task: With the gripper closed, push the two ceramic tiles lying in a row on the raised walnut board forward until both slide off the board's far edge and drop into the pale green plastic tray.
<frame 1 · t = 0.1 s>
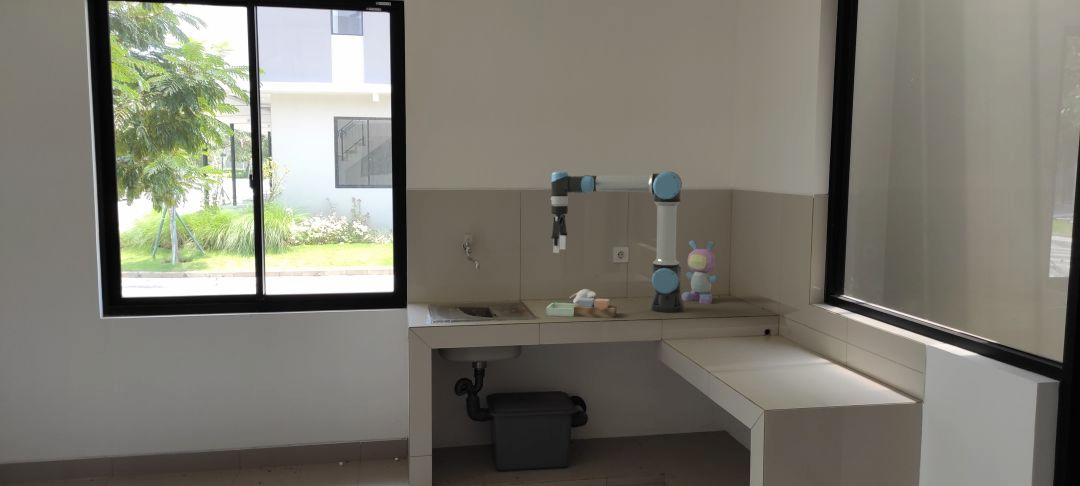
hand: (559, 251, 364), 28 cm above the counter, tool pointing down, fingers open, 13 cm apart
toy 2: (700, 301, 392), on the counter
tile front: (586, 305, 357), point 4 cm above the counter, touching board
tray: (562, 313, 360), on the counter
toy: (582, 307, 376), on the counter
tile rear: (601, 306, 356), point 4 cm above the counter, touching board
board: (595, 314, 357), on the counter
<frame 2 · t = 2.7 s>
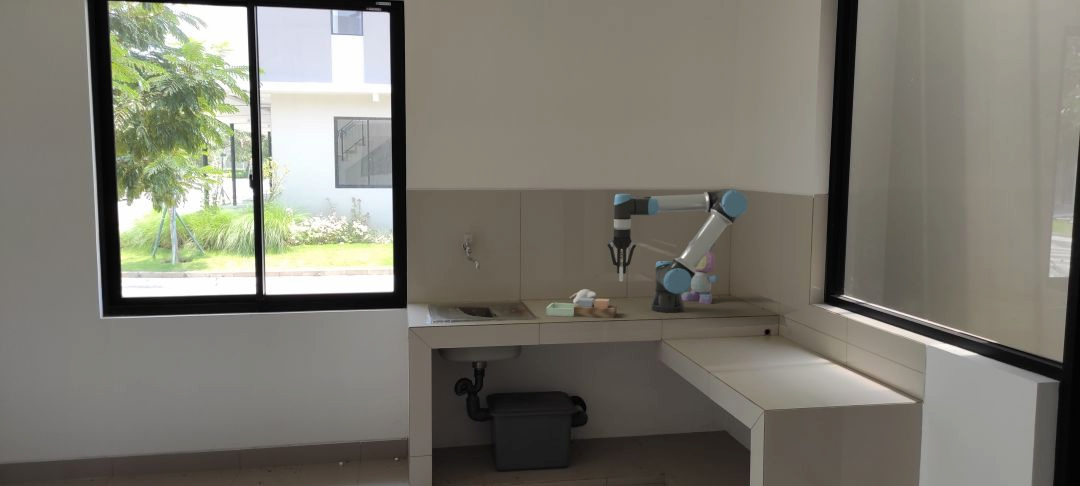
hand: (621, 280, 352), 16 cm above the counter, tool pointing down, fingers closed
nothing on the counter moved.
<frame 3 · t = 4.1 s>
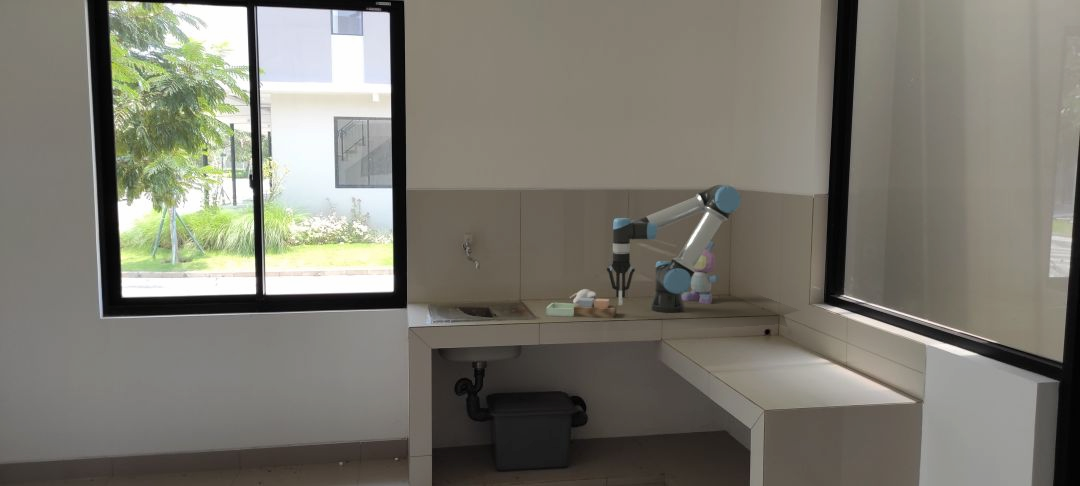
hand: (620, 304, 354), 5 cm above the counter, tool pointing down, fingers closed
nothing on the counter moved.
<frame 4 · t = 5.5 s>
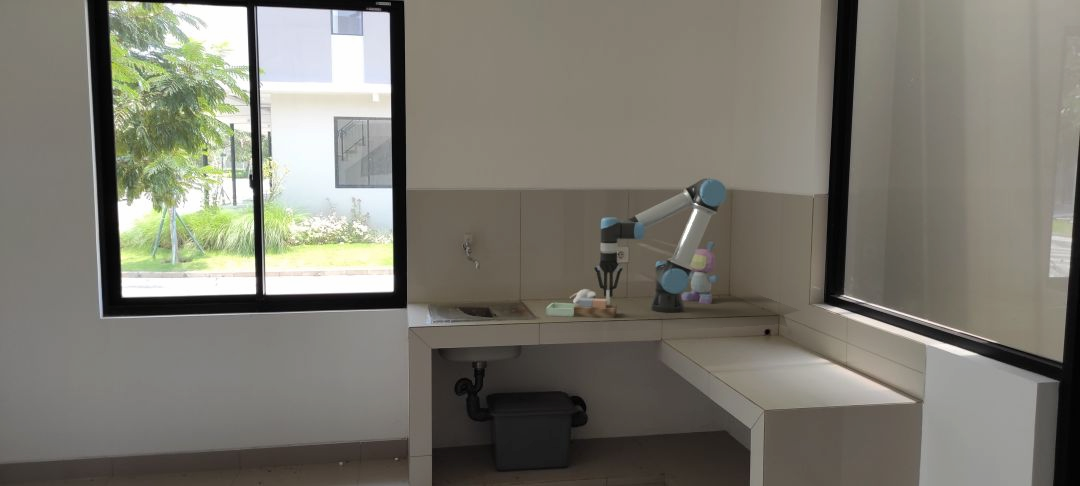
hand: (608, 303, 355), 5 cm above the counter, tool pointing down, fingers closed
tile rear: (599, 306, 356), point 4 cm above the counter, touching gripper
everything else where it was.
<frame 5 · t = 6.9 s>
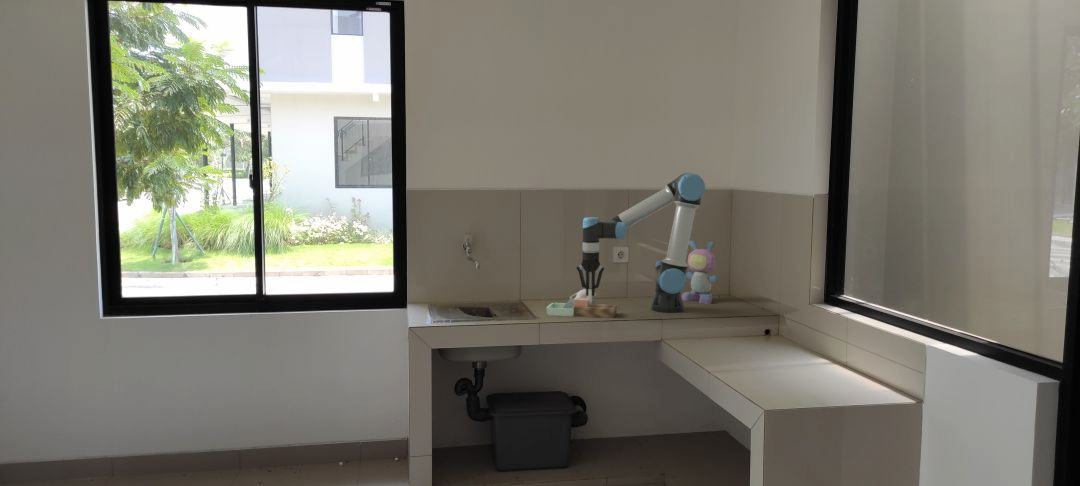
hand: (590, 302, 357), 5 cm above the counter, tool pointing down, fingers closed
tile front: (571, 307, 359), point 3 cm above the counter, tilted 53°, touching tile rear, tray
tile rear: (582, 305, 358), point 4 cm above the counter, touching board, gripper, tile front
everything else where it was.
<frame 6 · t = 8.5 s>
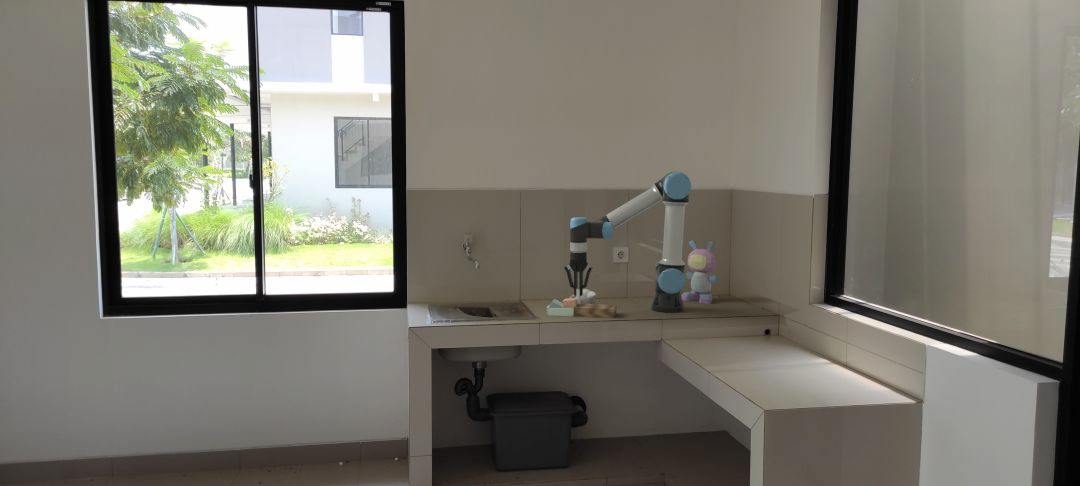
hand: (578, 302, 358), 5 cm above the counter, tool pointing down, fingers closed
tile front: (559, 303, 360), point 5 cm above the counter, tilted 150°, touching tile rear, tray
tile rear: (570, 305, 359), point 4 cm above the counter, tilted 8°, touching board, gripper, tile front
everything else where it was.
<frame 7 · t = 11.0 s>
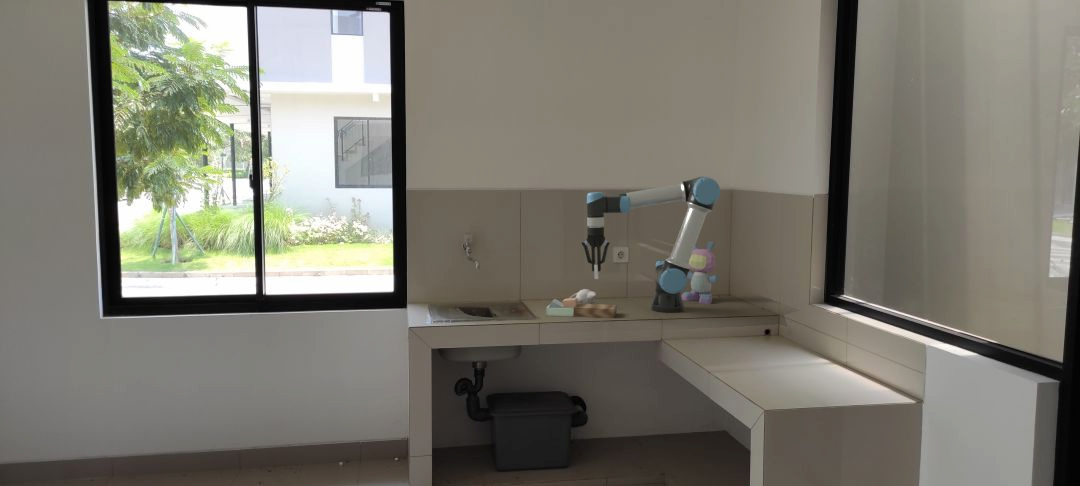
hand: (596, 278, 355), 17 cm above the counter, tool pointing down, fingers closed
tile rear: (570, 305, 359), point 4 cm above the counter, tilted 8°, touching board, tile front
everything else where it was.
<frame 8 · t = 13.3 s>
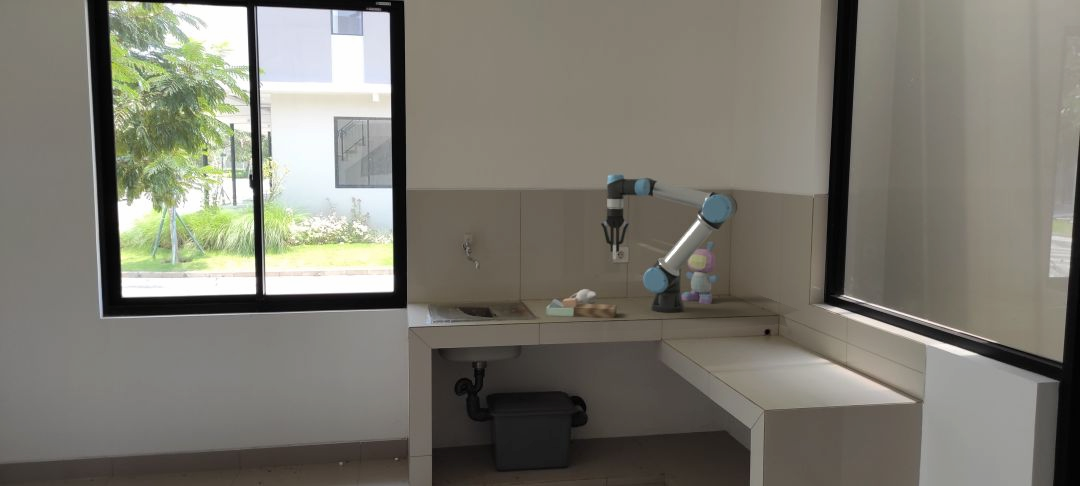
hand: (614, 258, 364), 24 cm above the counter, tool pointing down, fingers closed
nothing on the counter moved.
at the end: tile rear inside the target area (5.0 cm from its centre), point 3.7 cm above the counter; tile front inside the target area (0.6 cm from its centre), point 4.7 cm above the counter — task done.
